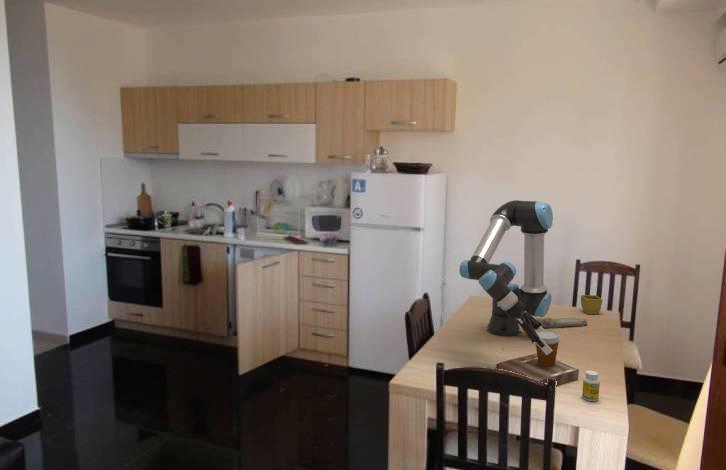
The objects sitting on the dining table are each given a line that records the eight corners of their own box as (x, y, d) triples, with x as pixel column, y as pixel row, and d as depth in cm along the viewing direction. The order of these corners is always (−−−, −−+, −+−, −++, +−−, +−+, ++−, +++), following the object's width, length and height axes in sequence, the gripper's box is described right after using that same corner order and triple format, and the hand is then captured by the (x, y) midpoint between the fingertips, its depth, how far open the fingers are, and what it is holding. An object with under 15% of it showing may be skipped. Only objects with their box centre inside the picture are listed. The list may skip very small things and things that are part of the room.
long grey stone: (591, 330, 272) (580, 325, 281) (592, 319, 271) (581, 315, 281) (527, 330, 265) (518, 324, 274) (528, 319, 264) (518, 314, 274)
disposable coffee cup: (556, 370, 206) (556, 340, 203) (530, 365, 211) (531, 336, 208) (562, 360, 213) (562, 331, 211) (537, 356, 218) (537, 328, 216)
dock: (535, 361, 226) (536, 351, 225) (578, 379, 207) (579, 368, 207) (496, 371, 215) (496, 360, 214) (537, 391, 197) (538, 380, 196)
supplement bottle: (590, 394, 195) (592, 368, 193) (601, 400, 190) (603, 374, 188) (578, 396, 193) (580, 370, 192) (589, 402, 188) (591, 376, 187)
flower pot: (601, 315, 291) (603, 299, 289) (585, 315, 291) (586, 299, 289) (595, 311, 299) (596, 295, 298) (579, 310, 299) (580, 295, 298)
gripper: (506, 302, 224) (542, 341, 221) (501, 319, 200) (541, 364, 198) (520, 291, 221) (557, 330, 219) (516, 307, 198) (557, 352, 195)
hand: (549, 346), depth 208 cm, fingers open, 13 cm apart
